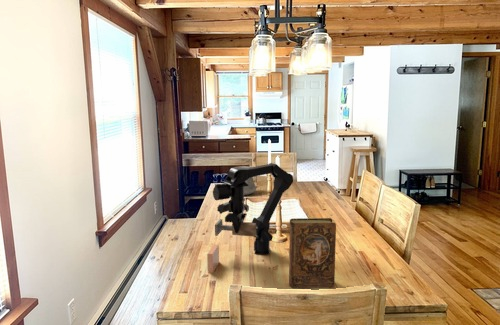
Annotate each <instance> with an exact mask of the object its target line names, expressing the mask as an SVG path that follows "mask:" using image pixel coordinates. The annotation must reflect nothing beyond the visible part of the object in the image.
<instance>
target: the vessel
mask: <svg viewBox="0 0 500 325" xmlns="http://www.w3.org/2000/svg"><path fill="white" fill-rule="evenodd" d="M237 167H238V168H250V167H251V166H249V165H247V166H245V165H241V166H237ZM231 181H232V180H231ZM232 182H233V181H232ZM245 182H246V183H247V184H248V186H245V187H244V196H248V195H251V194H254V193H255V192H256V190H257V188H258V186H257V185H256V184H255V181H254V177H251V178H249V179H248V180H246V181H245Z"/></svg>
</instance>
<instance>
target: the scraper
mask: <svg viewBox="0 0 500 325" xmlns="http://www.w3.org/2000/svg"><path fill="white" fill-rule="evenodd" d="M222 231H228V232H229V231H231V234H232V236H244V237H253V236H255V235H256V223H252V222H244V221H243V222H242V223H241V226H240V229H239V232H238V233H235V230H234V227H233V224H231V225H230V224H229V225H228V224H224V223H223V218H220V219H218V220H217V222H215V224H214V236H215V237H218V236H219V234H221V232H222Z"/></svg>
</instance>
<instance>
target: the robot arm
mask: <svg viewBox="0 0 500 325" xmlns="http://www.w3.org/2000/svg"><path fill="white" fill-rule="evenodd" d="M238 167H239V166H235V167H231V168H229V170H228V174H227V176H226V177H225V178H224V180H223V182H222V183H215V184H214V187H213V190H212V196H213V199H214V201H222V200H227V199H228V201H227V202H224V203H221V204H218V205H217V207H216V208H217V210H216V211H217V212H219V214H223V213H226V212H228V213H227V214H226V215H225V217H224V222H225V223H232V224H233V227H234V230H235V233H238V232H239V229H240V226H241V223H242V222H244V221H245V219H246V216H247V213H248V212H249V210H250V206H249V205H248V204H246V203H245V201H246V197H245V195H244V187H245V186H248V184H247V183H246V182H245V181H246V180H248V179H249V178H251V177H253V178H254V177H260V176H264V175H269V174H270V175H271V176H272V177H273V178H274V180H273V189H272V190H271V193H270V195H269V197H268V199H267V201H266V203H265V205H264V207H263V209H262V210H261V213H260V214H259V216H258V217H257V218H256V217H253V219H252V221H251V223H256V235H255V236H252V237H253V238H255V240H254V242H253V250H254V254H255V255H269V254H270V251H271V248H270V246H271V245H270V242H272V241H273V238H274V236H273V235H272V234H271V233H270V232H269V231H270V228H271V226H270V225H271V223H270V221H271V218H272V217H273V215H274V212H275V211H276V208H277V206H278V205H279V202H280V201H281V199H282V197H283V194H284V193H285V192H286V191H288V189H290V187H291V185H292V184H293V183H294V176H293V175H292V173H289V172H287V171H286V170H284V169H283V168H282V167H280V165H278V163H272V162H269V163H266V164H262V165H261V164H260V165H257V166H249V167H250V168H238ZM231 180H232V181H233V182H232V181H231ZM245 212H246V213H245ZM232 224H231V225H232Z"/></svg>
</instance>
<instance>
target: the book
mask: <svg viewBox="0 0 500 325" xmlns="http://www.w3.org/2000/svg"><path fill="white" fill-rule="evenodd" d="M336 235H337V223H336V222H334V221H333V218H331V217H319V218H318V217H312V218H311V217H310V218H309V217H308V218H307V217H306V218H303V217H302V218H297V217H296V218H290V219H289V244H288V245H289V249H288V252H289V253H288V254H289V255H288V256H289V259H288V260H289V264H288V265H289V267H288V269H289V270H288V287H290V288H291V289H320V288H321V289H322V288H323V289H325V288H326V289H327V288H333V287H335V281H336V280H335V278H336V242H337V241H336V240H337V239H336V237H337V236H336Z"/></svg>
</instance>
